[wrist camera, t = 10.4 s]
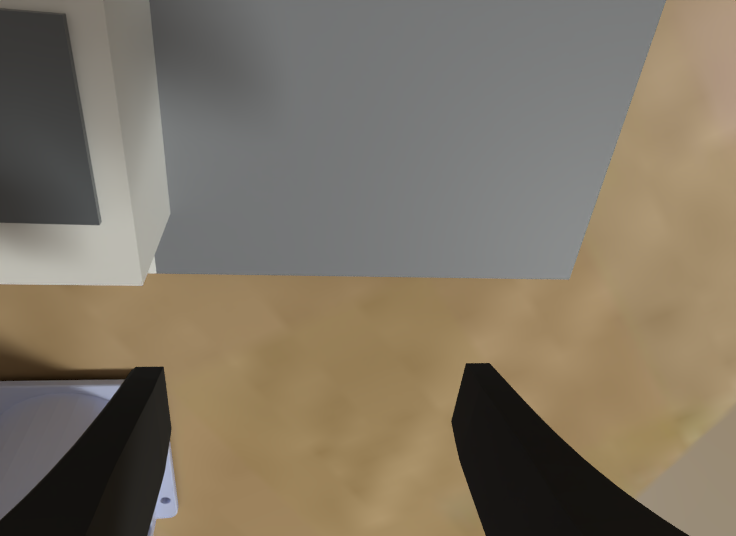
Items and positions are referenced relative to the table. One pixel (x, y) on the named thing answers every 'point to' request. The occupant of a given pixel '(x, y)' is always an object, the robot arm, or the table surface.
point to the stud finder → (79, 143)
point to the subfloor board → (390, 132)
